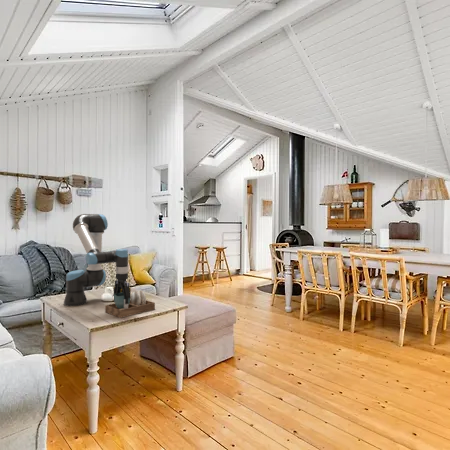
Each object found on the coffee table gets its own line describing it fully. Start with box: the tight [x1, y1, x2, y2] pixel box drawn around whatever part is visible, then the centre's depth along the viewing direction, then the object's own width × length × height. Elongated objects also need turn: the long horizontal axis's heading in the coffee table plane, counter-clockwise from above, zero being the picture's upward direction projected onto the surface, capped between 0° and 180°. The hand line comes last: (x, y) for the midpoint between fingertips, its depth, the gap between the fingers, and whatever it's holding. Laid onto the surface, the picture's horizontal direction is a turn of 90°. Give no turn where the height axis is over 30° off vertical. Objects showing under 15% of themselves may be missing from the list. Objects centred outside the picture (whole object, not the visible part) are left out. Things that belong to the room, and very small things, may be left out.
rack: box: [104, 290, 156, 319], centre depth 217 cm, size 18×26×12 cm
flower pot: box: [112, 293, 131, 309], centre depth 212 cm, size 9×9×9 cm
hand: (121, 307), depth 212 cm, fingers closed on flower pot, 9 cm apart
